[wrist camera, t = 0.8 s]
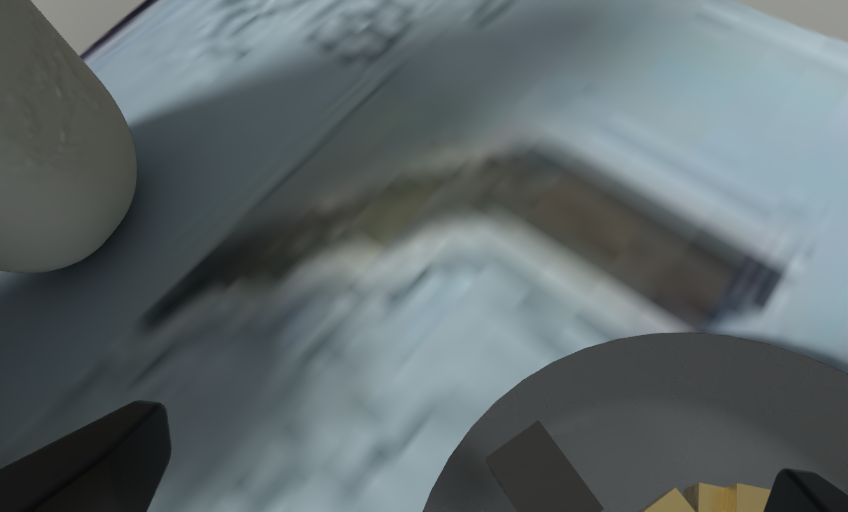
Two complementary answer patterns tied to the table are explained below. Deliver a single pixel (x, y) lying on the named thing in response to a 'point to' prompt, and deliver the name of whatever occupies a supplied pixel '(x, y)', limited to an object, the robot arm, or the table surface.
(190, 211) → the table surface
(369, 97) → the table surface
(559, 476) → the grey round tray
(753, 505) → the gold crown with post
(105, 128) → the grey bottle
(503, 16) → the table surface
